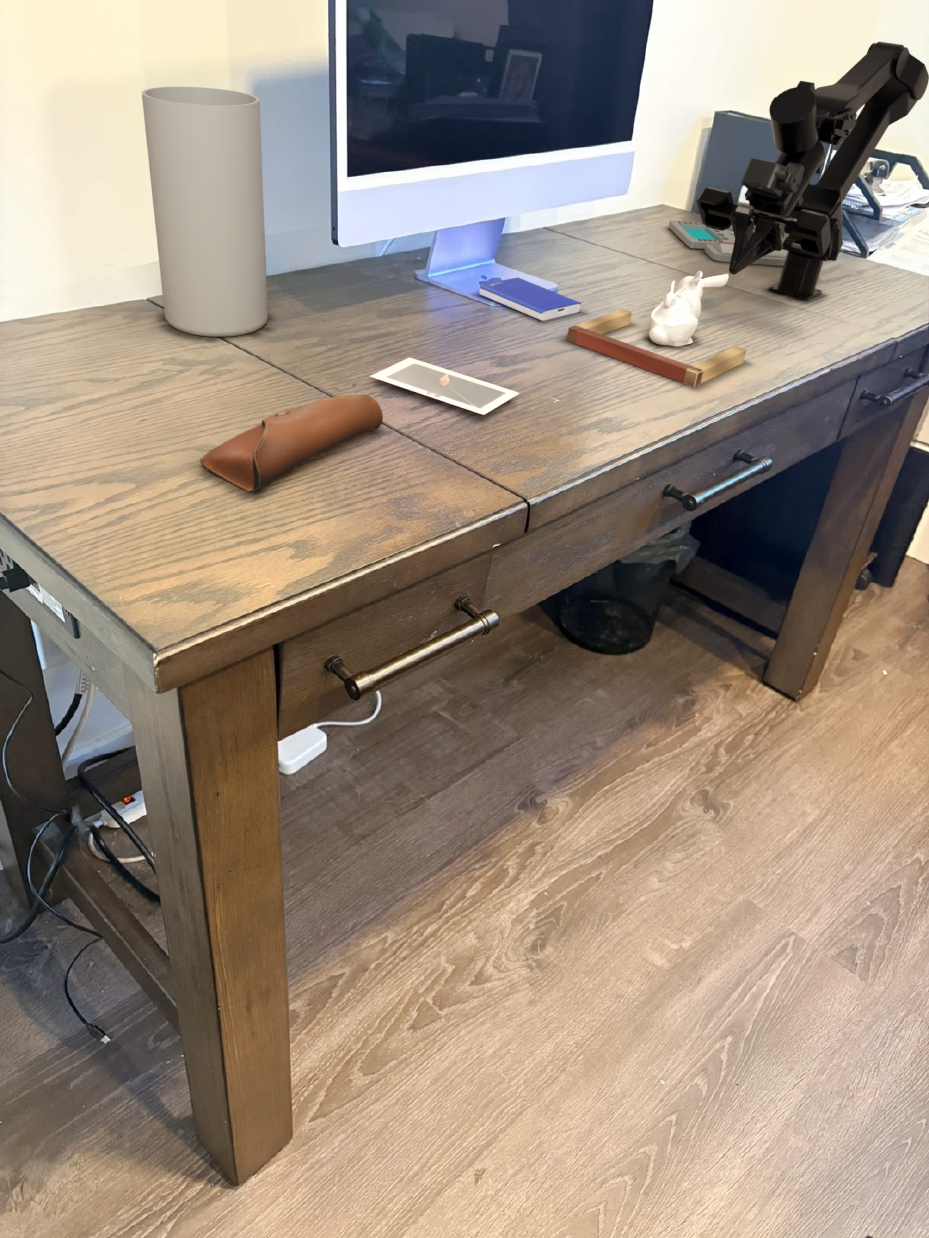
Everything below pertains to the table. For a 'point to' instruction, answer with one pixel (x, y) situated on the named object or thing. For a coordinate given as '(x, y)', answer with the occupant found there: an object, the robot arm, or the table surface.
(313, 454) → the sunglasses case
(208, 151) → the cylinder vase
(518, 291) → the hard drive
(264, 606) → the table surface
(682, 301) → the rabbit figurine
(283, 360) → the table surface
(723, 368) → the bay
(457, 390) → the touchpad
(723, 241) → the office telephone
